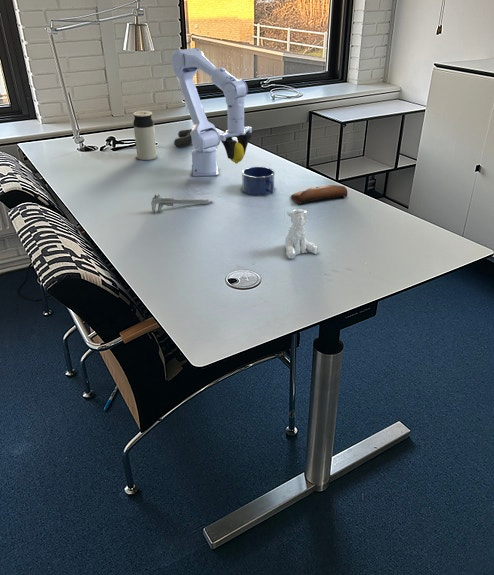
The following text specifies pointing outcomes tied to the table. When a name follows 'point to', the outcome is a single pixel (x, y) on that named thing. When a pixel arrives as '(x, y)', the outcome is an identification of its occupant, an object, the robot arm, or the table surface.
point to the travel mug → (144, 135)
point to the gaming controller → (183, 138)
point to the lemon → (238, 153)
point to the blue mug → (258, 180)
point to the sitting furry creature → (298, 235)
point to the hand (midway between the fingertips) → (236, 156)
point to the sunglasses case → (319, 193)
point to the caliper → (174, 202)
